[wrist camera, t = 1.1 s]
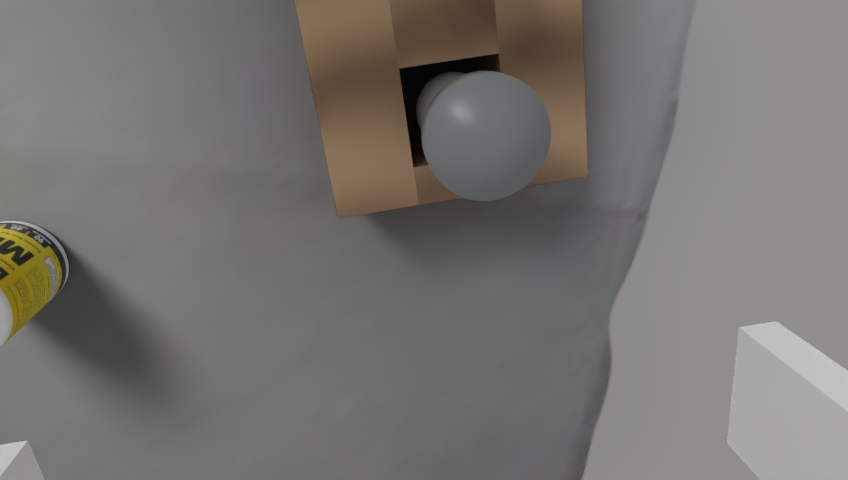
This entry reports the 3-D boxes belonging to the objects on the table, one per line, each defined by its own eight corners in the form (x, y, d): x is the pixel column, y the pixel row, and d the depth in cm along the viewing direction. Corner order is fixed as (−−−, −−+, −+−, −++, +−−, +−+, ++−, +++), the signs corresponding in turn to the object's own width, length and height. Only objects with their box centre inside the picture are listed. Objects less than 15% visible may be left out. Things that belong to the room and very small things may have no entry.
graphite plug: (397, 67, 26) (416, 83, 19) (495, 52, 26) (547, 63, 19) (412, 165, 27) (433, 210, 21) (504, 150, 28) (554, 190, 21)
